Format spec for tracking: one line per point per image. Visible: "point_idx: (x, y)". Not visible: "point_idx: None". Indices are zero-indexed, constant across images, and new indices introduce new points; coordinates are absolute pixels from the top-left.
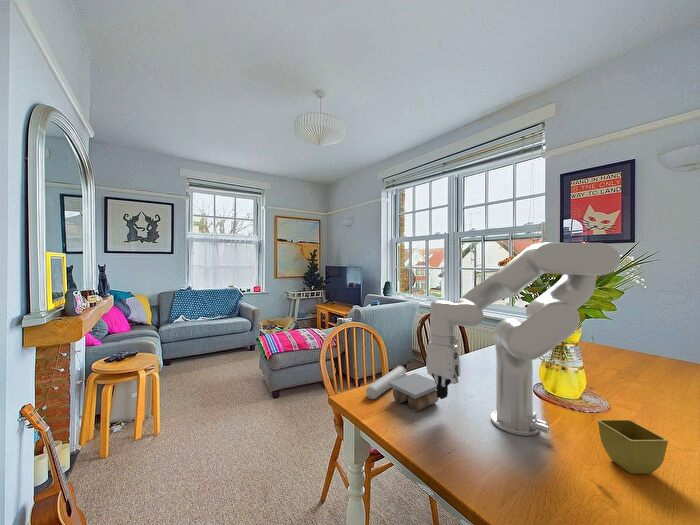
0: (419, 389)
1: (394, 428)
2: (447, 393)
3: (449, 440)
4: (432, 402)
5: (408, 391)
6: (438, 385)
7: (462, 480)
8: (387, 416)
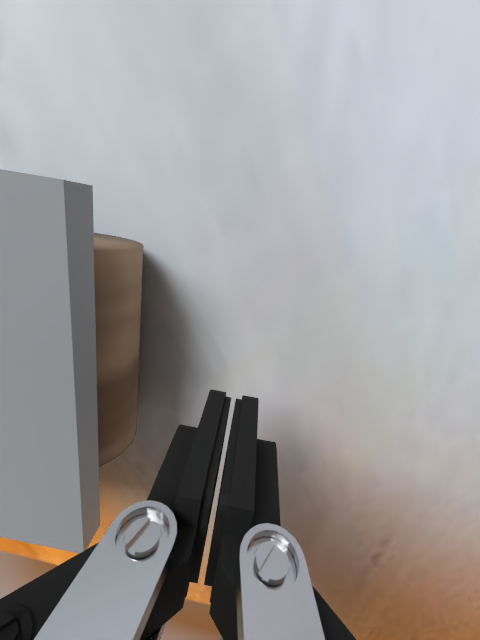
0: (32, 472)
1: None
2: (276, 455)
3: (353, 505)
4: (140, 315)
5: (12, 537)
6: (185, 596)
7: (445, 626)
8: None
